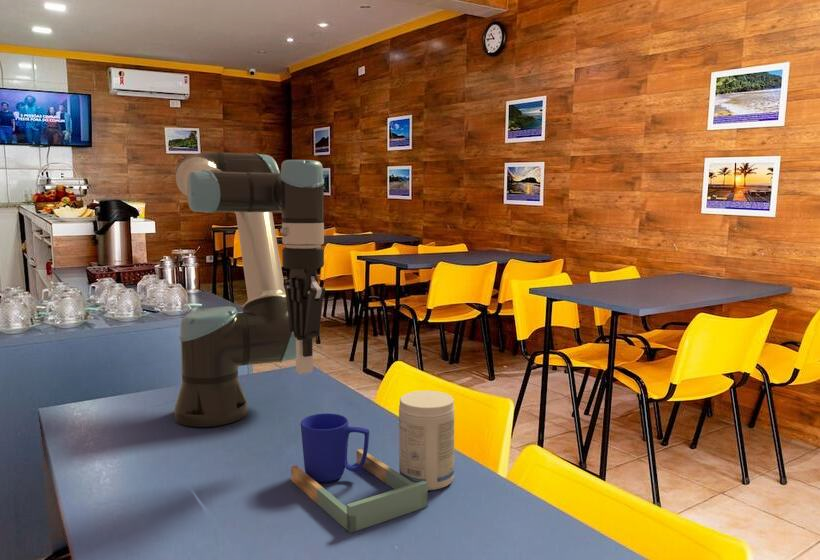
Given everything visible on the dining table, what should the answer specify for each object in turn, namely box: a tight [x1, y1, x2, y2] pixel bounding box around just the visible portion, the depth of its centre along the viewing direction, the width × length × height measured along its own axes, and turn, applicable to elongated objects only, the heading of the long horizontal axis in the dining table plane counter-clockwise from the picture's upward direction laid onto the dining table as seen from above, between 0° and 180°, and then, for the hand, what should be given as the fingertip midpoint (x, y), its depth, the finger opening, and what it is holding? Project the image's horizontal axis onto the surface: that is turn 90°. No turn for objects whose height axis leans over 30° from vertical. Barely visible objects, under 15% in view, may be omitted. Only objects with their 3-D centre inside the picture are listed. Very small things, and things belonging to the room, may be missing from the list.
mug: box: [300, 413, 370, 483], centre depth 108 cm, size 8×12×10 cm
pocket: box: [316, 467, 429, 534], centre depth 99 cm, size 10×14×4 cm
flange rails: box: [290, 448, 391, 504], centre depth 107 cm, size 10×14×2 cm
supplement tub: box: [398, 390, 455, 491], centre depth 107 cm, size 10×10×15 cm
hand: (304, 371), depth 117 cm, fingers closed
